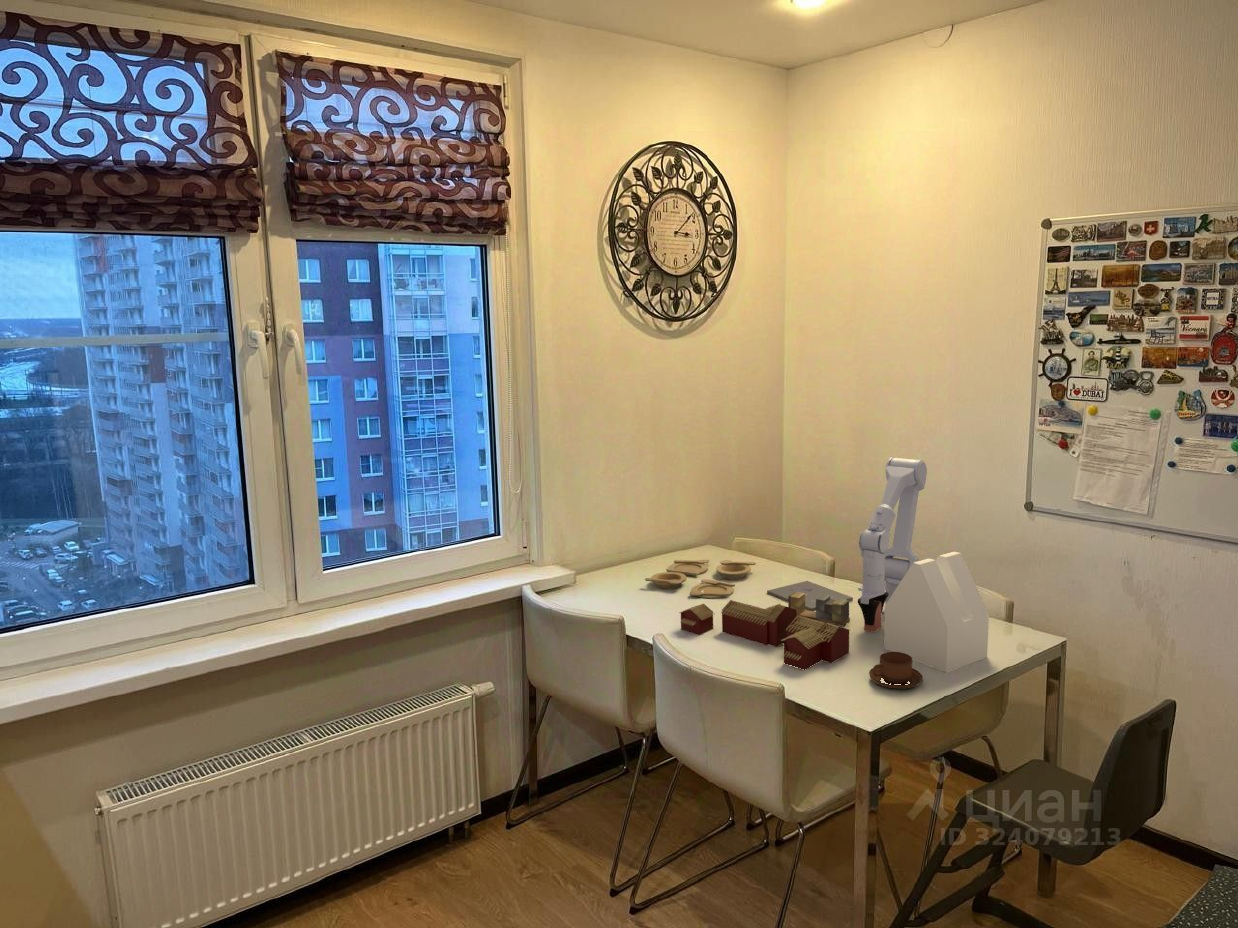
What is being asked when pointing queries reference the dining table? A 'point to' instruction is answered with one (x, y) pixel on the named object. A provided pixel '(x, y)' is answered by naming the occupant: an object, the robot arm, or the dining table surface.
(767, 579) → the dining table surface
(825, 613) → the rack
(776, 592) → the play button award
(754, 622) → the toy houses
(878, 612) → the red rectangular block
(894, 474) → the robot arm
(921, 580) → the milk carton
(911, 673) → the cup and saucer
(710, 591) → the tableware set
